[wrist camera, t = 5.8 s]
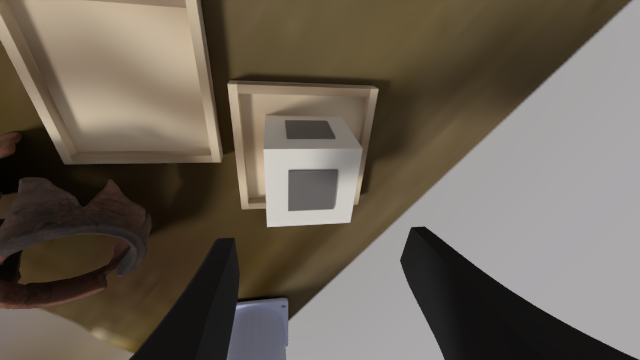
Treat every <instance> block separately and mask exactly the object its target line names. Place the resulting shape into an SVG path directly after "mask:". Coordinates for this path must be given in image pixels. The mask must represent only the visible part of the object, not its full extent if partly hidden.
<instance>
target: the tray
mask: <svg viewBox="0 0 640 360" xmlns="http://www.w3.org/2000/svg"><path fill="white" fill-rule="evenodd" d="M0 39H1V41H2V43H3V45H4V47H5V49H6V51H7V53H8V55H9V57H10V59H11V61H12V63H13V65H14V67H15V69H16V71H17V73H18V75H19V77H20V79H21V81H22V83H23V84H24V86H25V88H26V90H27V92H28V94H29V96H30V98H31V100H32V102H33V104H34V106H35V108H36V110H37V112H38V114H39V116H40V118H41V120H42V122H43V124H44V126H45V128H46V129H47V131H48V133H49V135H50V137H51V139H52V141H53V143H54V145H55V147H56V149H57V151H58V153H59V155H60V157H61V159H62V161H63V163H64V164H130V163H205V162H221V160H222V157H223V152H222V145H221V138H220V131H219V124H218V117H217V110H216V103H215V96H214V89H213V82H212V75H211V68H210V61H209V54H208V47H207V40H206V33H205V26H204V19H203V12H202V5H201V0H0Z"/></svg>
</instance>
